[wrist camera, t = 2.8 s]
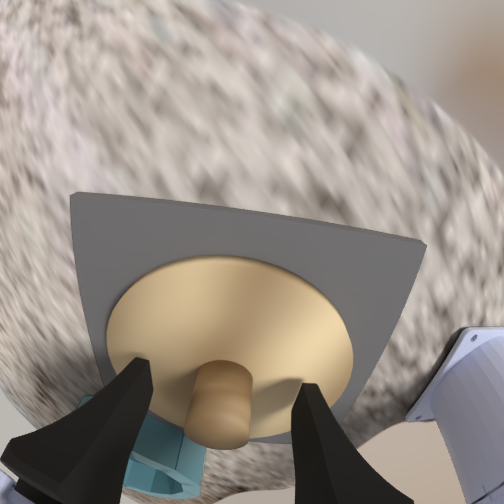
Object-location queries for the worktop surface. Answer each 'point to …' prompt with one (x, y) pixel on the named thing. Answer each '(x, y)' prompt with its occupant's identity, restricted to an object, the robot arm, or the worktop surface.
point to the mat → (247, 245)
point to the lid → (230, 345)
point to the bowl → (164, 462)
